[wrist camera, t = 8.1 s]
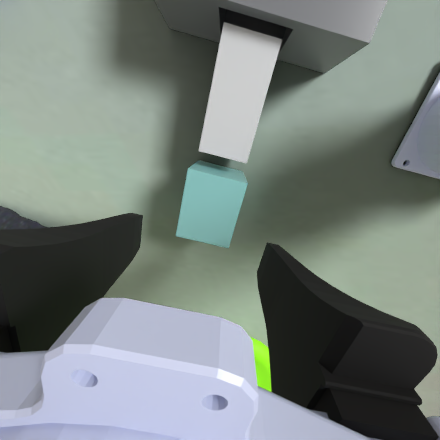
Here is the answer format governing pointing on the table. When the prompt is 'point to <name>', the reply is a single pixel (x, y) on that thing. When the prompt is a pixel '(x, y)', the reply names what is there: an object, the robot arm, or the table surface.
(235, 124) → the plug
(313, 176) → the table surface
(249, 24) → the grey block
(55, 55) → the table surface
